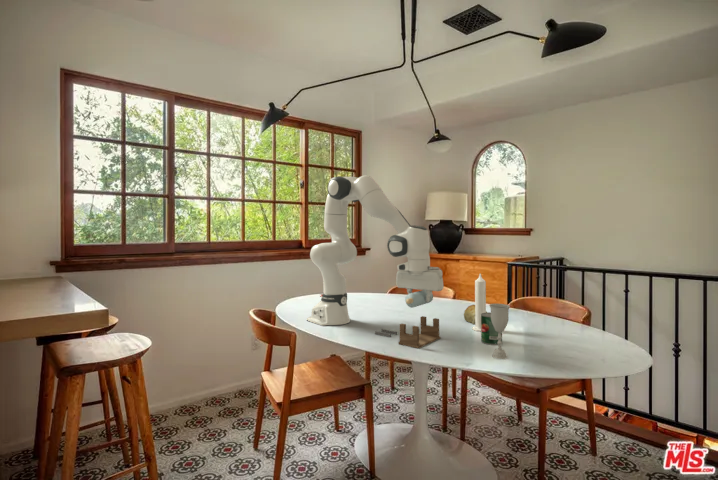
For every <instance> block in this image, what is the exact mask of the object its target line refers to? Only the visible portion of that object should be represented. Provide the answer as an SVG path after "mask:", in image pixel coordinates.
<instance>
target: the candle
mask: <svg viewBox="0 0 718 480" xmlns="http://www.w3.org/2000/svg"><path fill="white" fill-rule="evenodd" d="M486 284H487V282H486V280H485V279H484V278H483V277H482V273H479V275H478V278H477V279H475V280H474V303H475V304H474V305H475V325H474V326H473V327H472V331H475V332H480V333H481V314H482V313H486V311H487V301H486V300H487V298H486V297H487V296H486V295H487V287H486V286H487V285H486Z"/></svg>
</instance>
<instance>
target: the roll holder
mask: <svg viewBox="0 0 718 480" xmlns="http://www.w3.org/2000/svg"><path fill="white" fill-rule="evenodd" d="M427 324H428V323H427V316H423V315H422V316H420V326H418V325H413V326H412V329H411V330H412V333H407V324H406V323H399V325H398V326H399V341H398V345H402V346H405V347H410V348H415V349H420V348H422V347H424V346H427V345H429V344H431V343H433V342H435V341H438V340H440V339H441V335H440V319H439V318H436V317H435V318H432V325H427Z"/></svg>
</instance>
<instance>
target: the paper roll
mask: <svg viewBox="0 0 718 480" xmlns="http://www.w3.org/2000/svg"><path fill="white" fill-rule="evenodd" d="M427 294H428V293H426V290H418V291H414V292H412V293H410V294H408V293H407V294H406V296H405V297H404V298H405V300H404V301H405V304H406V306H407V307H408V308H410V309H411V308H413V309H414V308H415V307H419V306H423V305H427V304H430V303H432V301H433V300H434V295H433V293H432V294H431V296H430V301H429V302H426V301H424V300H425V299H424V297H426V296H427Z"/></svg>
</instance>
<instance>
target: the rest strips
mask: <svg viewBox="0 0 718 480" xmlns="http://www.w3.org/2000/svg"><path fill="white" fill-rule="evenodd" d="M374 335H377V336H383V337H387V338H391V337H392V335H394V336H396V335H398V331H396V330H390V329H384V328H381V330H380V331H379V330H376V331H374Z"/></svg>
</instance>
